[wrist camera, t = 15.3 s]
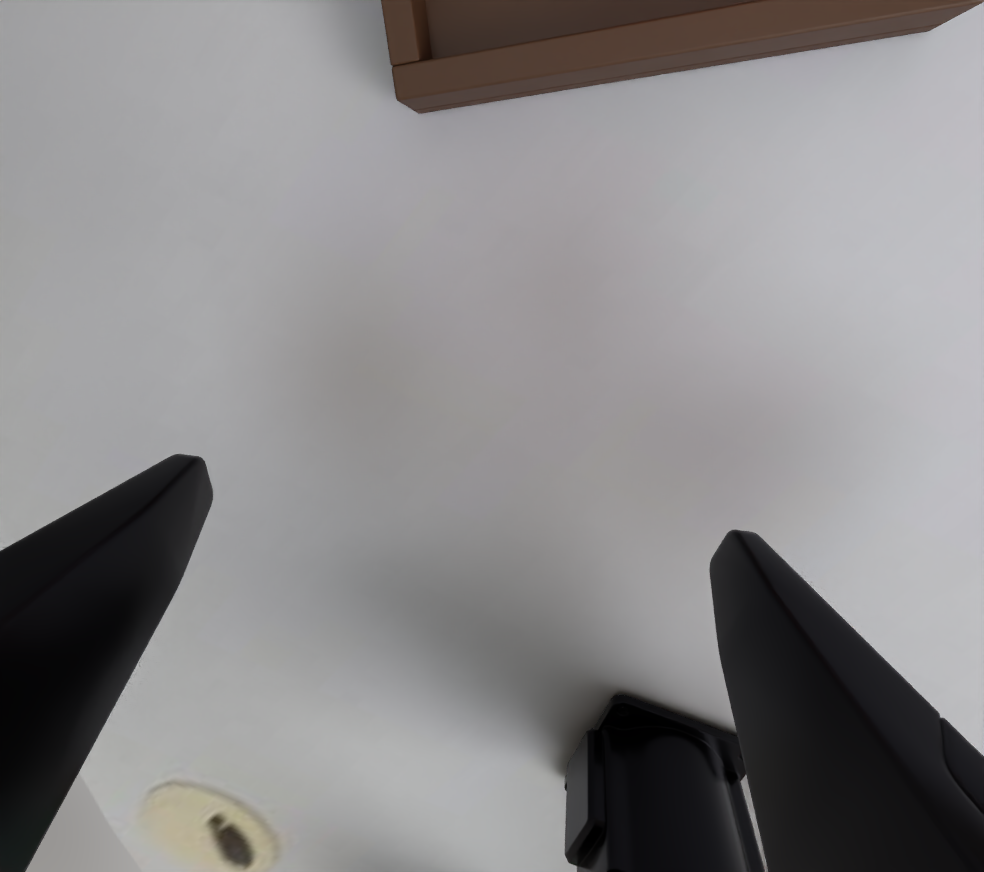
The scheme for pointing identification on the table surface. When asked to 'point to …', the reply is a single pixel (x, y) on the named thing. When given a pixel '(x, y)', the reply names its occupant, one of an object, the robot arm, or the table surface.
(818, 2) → the tray
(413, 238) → the table surface
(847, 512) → the table surface
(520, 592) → the table surface
